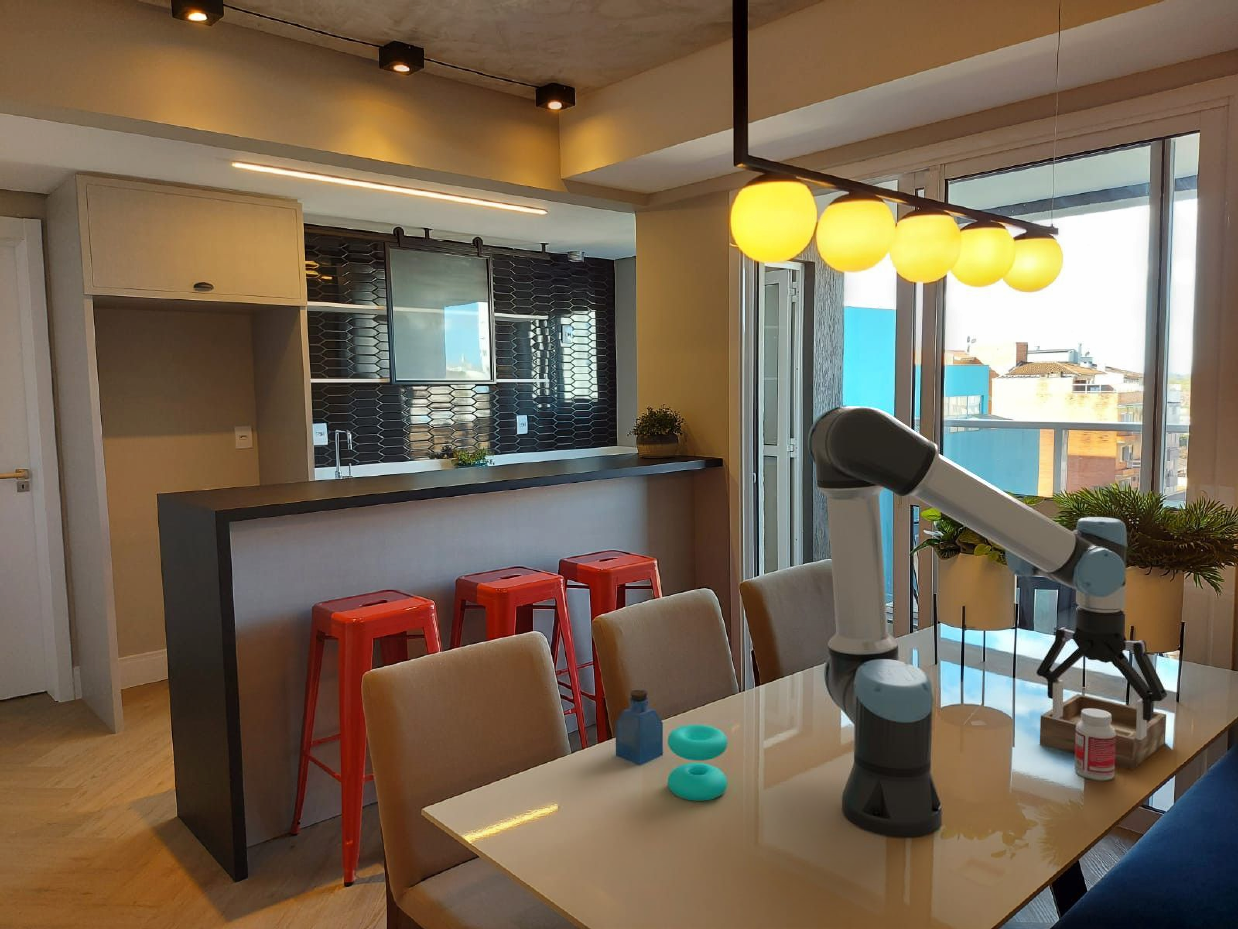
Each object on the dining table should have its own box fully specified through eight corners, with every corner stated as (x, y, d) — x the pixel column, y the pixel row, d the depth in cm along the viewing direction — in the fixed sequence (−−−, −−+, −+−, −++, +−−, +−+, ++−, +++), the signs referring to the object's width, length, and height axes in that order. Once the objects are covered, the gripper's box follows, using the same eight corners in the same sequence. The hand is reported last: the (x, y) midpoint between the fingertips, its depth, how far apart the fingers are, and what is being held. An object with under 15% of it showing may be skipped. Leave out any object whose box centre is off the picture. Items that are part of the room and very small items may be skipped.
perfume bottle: (662, 755, 164) (662, 692, 163) (640, 765, 160) (640, 700, 159) (637, 746, 168) (637, 684, 168) (615, 756, 164) (615, 693, 163)
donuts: (675, 719, 155) (732, 725, 152) (675, 774, 156) (731, 781, 153) (661, 740, 145) (721, 747, 143) (661, 799, 146) (721, 807, 143)
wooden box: (1132, 769, 157) (1133, 739, 156) (1039, 743, 168) (1040, 715, 168) (1165, 742, 169) (1166, 714, 168) (1076, 720, 180) (1077, 694, 180)
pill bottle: (1121, 776, 154) (1123, 714, 153) (1102, 784, 151) (1104, 721, 150) (1086, 764, 159) (1088, 704, 158) (1067, 772, 156) (1069, 711, 155)
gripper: (1190, 615, 146) (1186, 740, 148) (1035, 592, 164) (1034, 704, 166) (1175, 624, 141) (1172, 753, 143) (1018, 599, 159) (1016, 714, 161)
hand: (1098, 727), depth 154 cm, fingers open, 13 cm apart
